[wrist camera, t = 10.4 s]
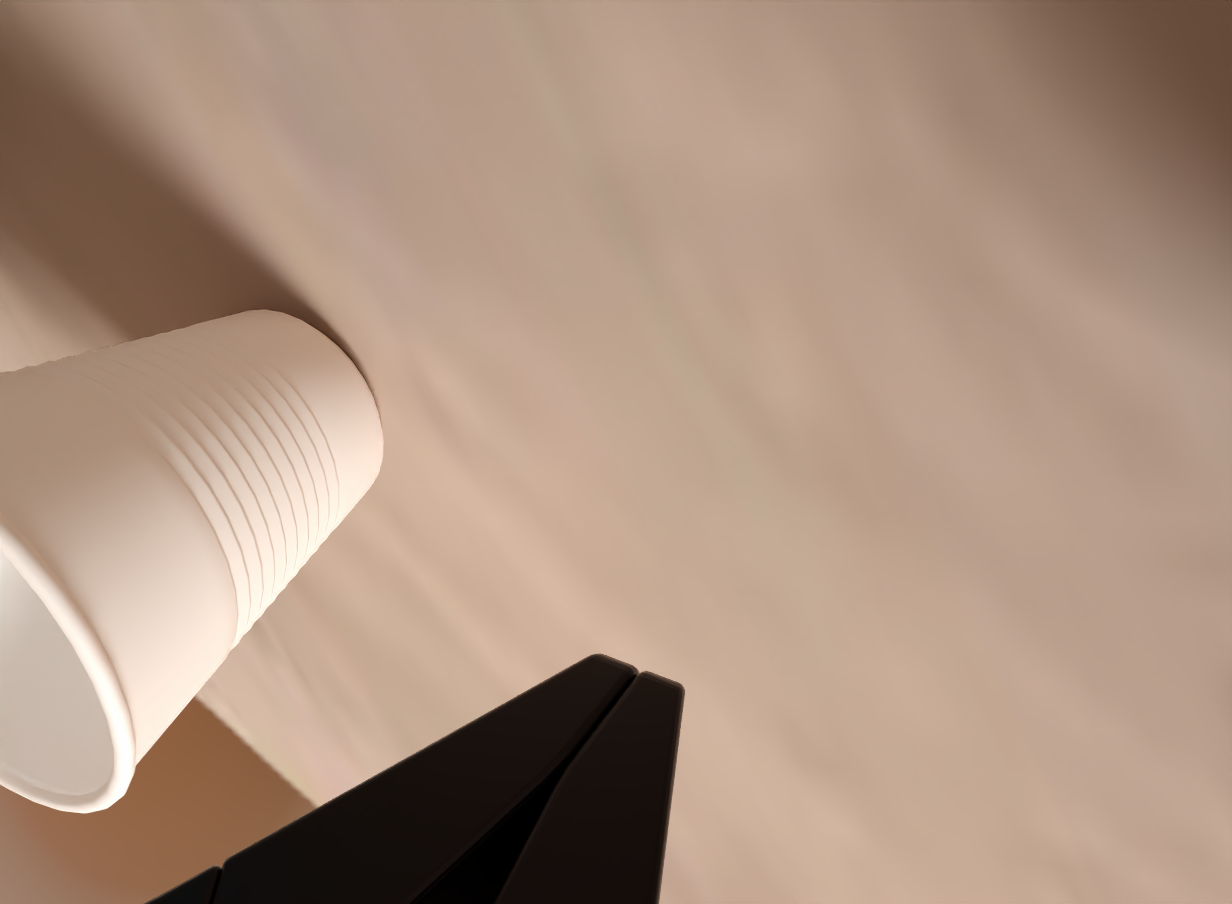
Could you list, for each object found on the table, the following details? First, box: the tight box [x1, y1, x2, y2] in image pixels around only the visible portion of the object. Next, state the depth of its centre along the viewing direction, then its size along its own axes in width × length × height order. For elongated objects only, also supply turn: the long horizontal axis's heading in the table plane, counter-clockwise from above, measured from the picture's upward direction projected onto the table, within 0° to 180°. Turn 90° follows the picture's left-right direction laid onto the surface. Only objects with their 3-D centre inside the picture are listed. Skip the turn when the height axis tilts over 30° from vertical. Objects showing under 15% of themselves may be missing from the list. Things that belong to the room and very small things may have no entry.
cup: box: [0, 309, 383, 813], centre depth 24 cm, size 10×10×11 cm
